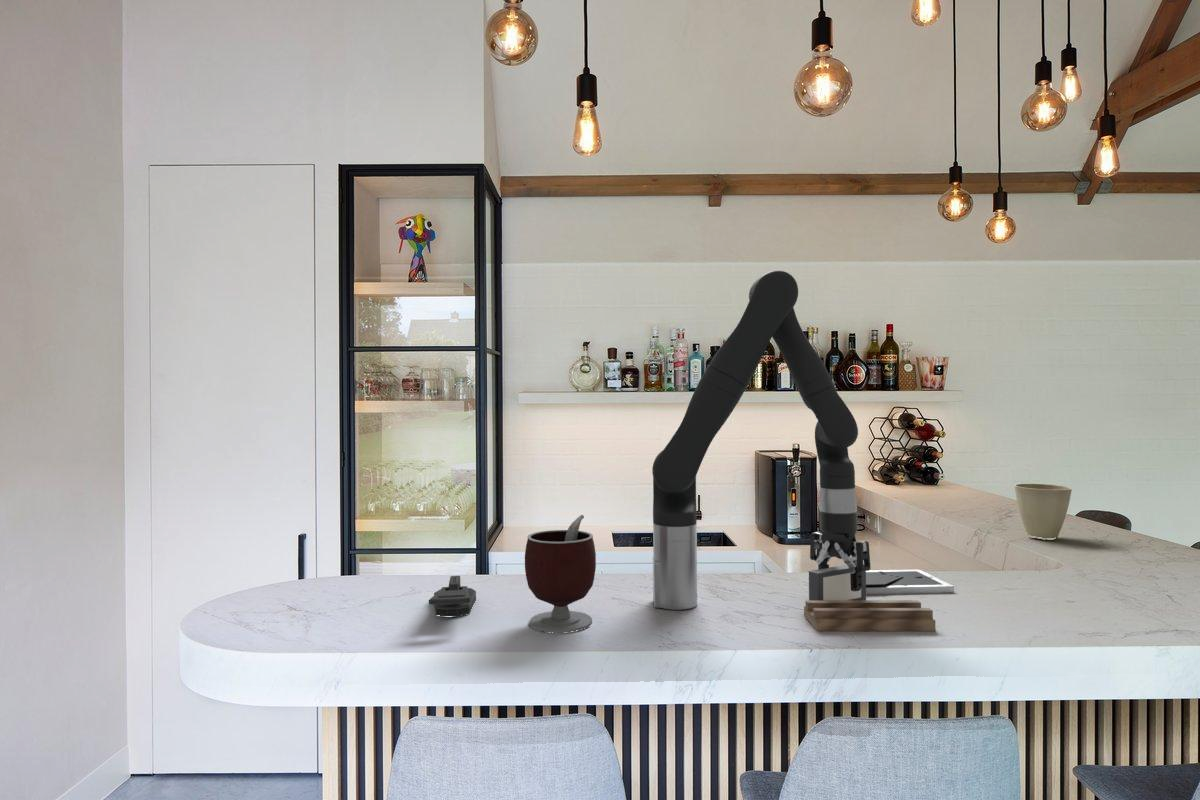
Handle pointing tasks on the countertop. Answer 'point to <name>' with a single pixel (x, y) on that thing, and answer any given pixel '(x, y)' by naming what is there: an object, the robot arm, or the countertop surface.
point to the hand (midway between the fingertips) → (839, 586)
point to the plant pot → (1042, 508)
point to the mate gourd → (560, 575)
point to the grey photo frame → (834, 584)
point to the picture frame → (904, 582)
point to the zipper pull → (453, 599)
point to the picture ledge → (870, 624)
